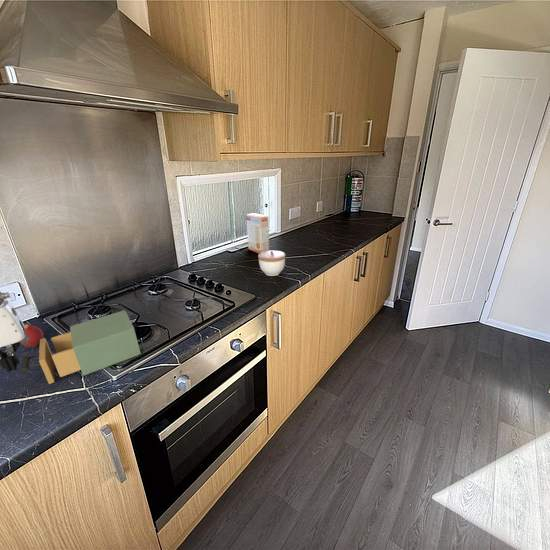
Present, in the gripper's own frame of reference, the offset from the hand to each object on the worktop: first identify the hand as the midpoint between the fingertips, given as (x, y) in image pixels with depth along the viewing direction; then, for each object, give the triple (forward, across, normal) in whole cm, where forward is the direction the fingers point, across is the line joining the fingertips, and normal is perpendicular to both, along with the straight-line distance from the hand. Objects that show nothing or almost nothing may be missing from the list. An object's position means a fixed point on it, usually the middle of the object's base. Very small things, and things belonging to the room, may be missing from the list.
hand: (12, 367), depth 73 cm
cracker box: (+7, -105, -50) cm, 117 cm away
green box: (+6, -21, 0) cm, 21 cm away
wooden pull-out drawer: (+5, -11, 0) cm, 12 cm away
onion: (+6, -2, -18) cm, 20 cm away
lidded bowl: (+7, -93, -19) cm, 95 cm away
